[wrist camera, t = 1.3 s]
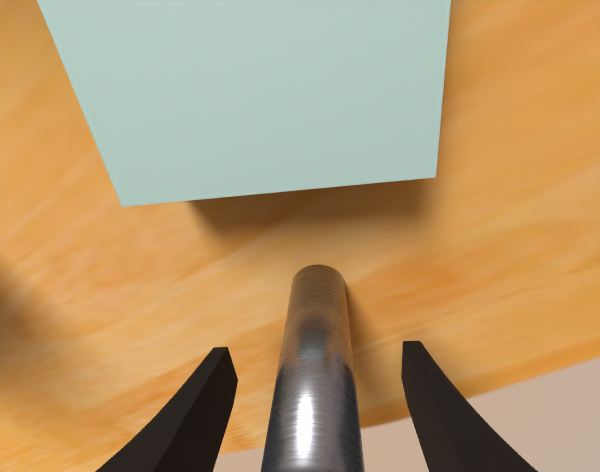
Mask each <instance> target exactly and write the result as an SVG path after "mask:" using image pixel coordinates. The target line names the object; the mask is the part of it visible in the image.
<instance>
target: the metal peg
mask: <svg viewBox="0 0 600 472" xmlns="http://www.w3.org/2000/svg"><path fill="white" fill-rule="evenodd" d="M261 472H365V471H364V462H363V452H362V442H361V433H360V423H359V414H358V404H357V394H356V385H355V375H354V366H353V356H352V346H351V337H350V327H349V318H348V308H347V299H346V289H345V282H344V279H343V277H342V276H341V275H340V274H339V272H337V271H336V270H335V269H333V268H331V267H328V266H325V265H311V266H308V267H305V268H303V269H302V270H300V271H299V272H298V273H297V274H296V275H295V277H294V279H293V283H292V288H291V294H290V300H289V306H288V312H287V318H286V324H285V330H284V336H283V342H282V348H281V354H280V360H279V366H278V372H277V378H276V384H275V389H274V395H273V401H272V407H271V413H270V419H269V425H268V431H267V437H266V443H265V449H264V455H263V461H262V467H261Z"/></svg>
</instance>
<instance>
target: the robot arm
mask: <svg viewBox="0 0 600 472" xmlns="http://www.w3.org/2000/svg"><path fill="white" fill-rule="evenodd" d="M401 377H402V382H403V387H404V392H405V396H406V400H407V405H408V408H409V411H410V414H411V417H412V420H413V423H414V427H415V429H416V433H417V436H418V439H419V442H420V445H421V448H422V451H423V454H424V457H425V460H426V463H427V466H428V469H429V472H538V471H537V470H535V469H534V468H533V467H532V466H531V465H530V464H529V463H527V462H526V461H525V460H524V459H523V458H522V457H521V456H520V455H519V454H518V453H517V452H516V451H514V449H512V447H510V446H509V445H508V444H507V443H506V442H505V441H504V440H503V439H502V438H501V437H500V436H499V435H498V434H497V433H496V432H495V431H494V430H493V429H492V428H491V427H490V426H489V425H488V424H487V422H486V421H485V420H484V419H483V418H482V417H481V416H480V415H479V414H478V413H477V412H476V411H475V410H474V408H473V407H472V406H471V405H470V404H469V403H468V402H467V401H466V399H465V398H464V397H463V396H462V395H461V394H460V392H459V391H458V390H457V389H456V388H455V386H454V385H453V384H452V383H451V382H450V380H449V379H448V378H447V377H446V375H445V374H444V373H443V372H442V370H441V369H440V368H439V366H438V365H437V364H436V362H435V361H434V360H433V358H432V357H431V356H430V354H429V353H428V351H427V350H426V348H425V347H424V346H423V344H422V343H421V342H420V341H403V353H402V375H401ZM237 382H238V379H237V375H236V372H235V369H234V366H233V363H232V359H231V356H230V353H229V350H228V347H214V348H213V349H212V350H211V351H210V353H209V354H208V355H207V356H206V358H205V359H204V360H203V361H202V363H201V364H200V365H199V366H198V367H197V369H196V370H195V371H194V372H193V374H192V375H191V376H190V377H189V378H188V380H187V381H186V382H185V383H184V384H183V386H182V387H181V388H180V389H179V390H178V391H177V393H176V394H175V395H174V396H173V397H172V398H171V399H170V401H169V402H168V403H167V404H166V405H165V406H164V407H163V408H162V409H161V410H160V412H159V413H158V414H157V415H156V416H155V417H154V418H153V419H152V420H151V421H150V422H149V423H148V424H147V425H146V426H145V427H144V428H143V429H142V430H141V431H140V432H139V433H138V434H137V435H136V436H135V437H134V438H133V439H132V440H131V441H130V442H129V443H127V444H126V445H125V446H124V447H123V448H122V449H121V450H120V451H119V452H117V453H116V454H115V455H114V456H113V457H112V458H111V459H109V460H108V461H107V462H106V463H105V464H104V465H103V466H101V467H100V468H99V469H98V470H97V471H95V472H213V469H214V466H215V462H216V459H217V456H218V453H219V450H220V446H221V443H222V440H223V437H224V434H225V430H226V427H227V424H228V421H229V417H230V414H231V411H232V408H233V403H234V398H235V394H236V388H237Z"/></svg>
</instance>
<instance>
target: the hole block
mask: <svg viewBox="0 0 600 472" xmlns="http://www.w3.org/2000/svg"><path fill="white" fill-rule="evenodd" d="M37 2H38V4H39V7H40V9H41V11H42V14H43V16H44V19H45V21H46V24H47V26H48V28H49V31H50V33H51V36H52V38H53V41H54V43H55V45H56V48H57V50H58V53H59V55H60V58H61V60H62V62H63V65H64V67H65V70H66V72H67V75H68V77H69V79H70V82H71V84H72V87H73V89H74V92H75V94H76V96H77V99H78V101H79V104H80V106H81V109H82V111H83V113H84V116H85V118H86V121H87V123H88V126H89V128H90V130H91V133H92V135H93V138H94V140H95V143H96V145H97V147H98V150H99V152H100V155H101V157H102V160H103V162H104V164H105V167H106V169H107V172H108V174H109V177H110V179H111V181H112V184H113V186H114V189H115V191H116V194H117V196H118V198H119V201H120V203H121V206H122V207H125V206H136V205H147V204H157V203H168V202H179V201H189V200H200V199H211V198H221V197H232V196H242V195H253V194H264V193H274V192H285V191H296V190H306V189H317V188H328V187H338V186H349V185H360V184H370V183H381V182H392V181H402V180H413V179H424V178H434V177H436V170H437V158H438V146H439V134H440V123H441V111H442V99H443V87H444V75H445V64H446V52H447V40H448V28H449V16H450V5H451V0H37Z"/></svg>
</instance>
